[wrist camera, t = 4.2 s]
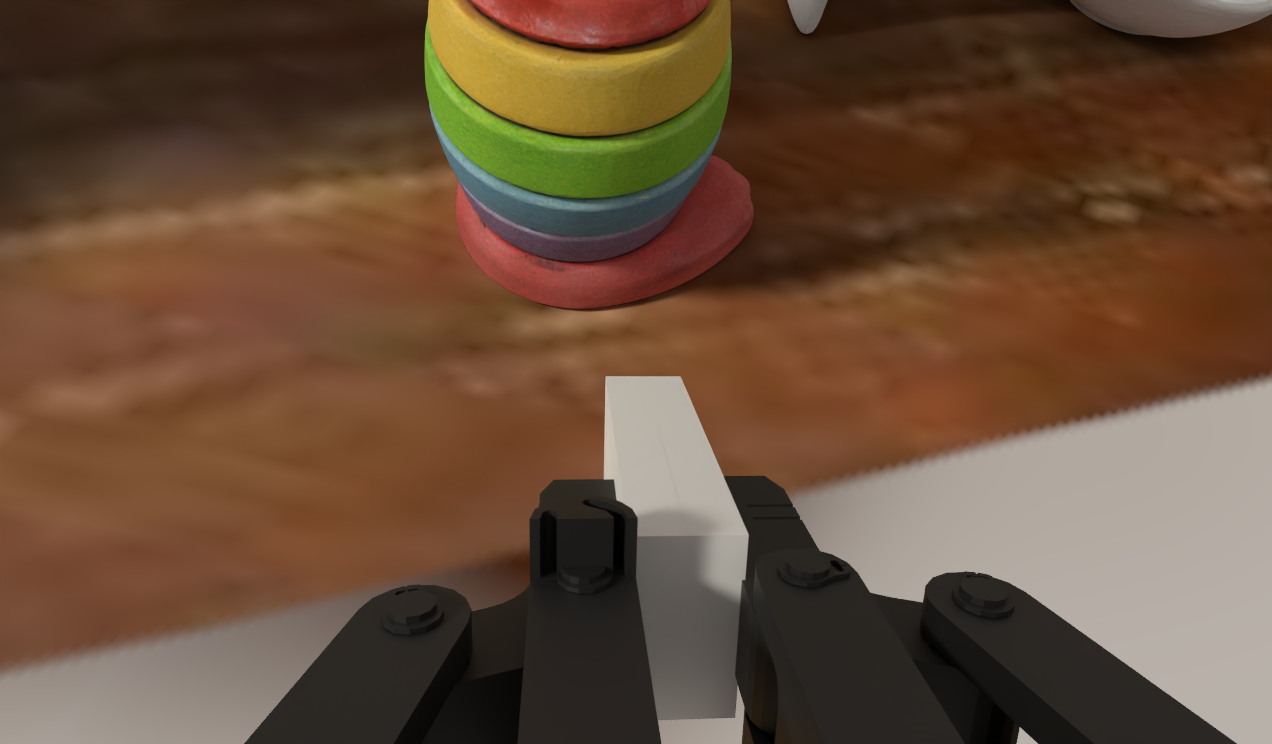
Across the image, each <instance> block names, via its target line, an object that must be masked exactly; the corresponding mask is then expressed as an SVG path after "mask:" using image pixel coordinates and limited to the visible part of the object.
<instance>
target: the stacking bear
mask: <svg viewBox="0 0 1272 744" xmlns="http://www.w3.org/2000/svg"><path fill="white" fill-rule="evenodd" d="M730 31H731V10H730V0H429V6H428V20H427V24H426V31H425V53H424V55H425V82H426V90H427V95H428V100H429V105H430V111H431V116H432V120H433V123H434V126H435V129H436V132H437V135H438V137H439V140H440V143H441V145H442V148H443V150H444V153H445V155H446V157H447V159H448V162H449V164H450V166H451V168H452V169H453V171H454V173H455V175H456V177H457V179H458V181H459V183H458V189H457V195H456V217H457V224H458V227H459V231H460V235H461V238H462V240H463V242H464V244H465V247H466V249H467V250H468V252H469V254H470V255H471V257H472V258H473V259H474V261H475V262H476V263H477V264H478V266H479V267H480V268H481V269H482V270H483V271H484V272H485V273H486V274H487V275H488V276H489V277H490V278H492V279H493V280H494V281H496V282H497V283H499V284H500V285H502V286H503V287H505V288H506V289H508V290H509V291H511V292H513V293H515V294H517V295H519V296H521V297H524V298H526V299H529V300H531V301H534V302H538V303H542V304H546V305H550V306H555V307H562V308H576V309H578V308H596V307H604V306H611V305H617V304H622V303H628V302H632V301H636V300H639V299H643V298H646V297H650V296H653V295H656V294H659V293H662V292H664V291H667V290H669V289H672V288H674V287H677V286H679V285H681V284H683V283H685V282H687V281H689V280H691V279H693V278H695V277H696V276H698V275H700V274H702V273H703V272H705V271H706V270H708V269H709V268H711V267H712V266H713V265H715V264H716V263H718V262H719V261H720V260H721V259H723V258H724V257H725V256H726V255H727V254H728V253H730V252H731V251H732V250H733V249H734V248H735V247H736V246H737V245H738V244H739V243H740V242H741V240H742V239H743V238H744V237H745V236H746V234H747V233H748V231H749V230H750V228H751V225H752V222H753V218H754V207H753V204H752V201H751V188H750V184H749V182H748V181H747V179H746V178H745V177H744V176H743V175H741V174H740V173H738V172H737V171H735V170H734V169H733V168H732V167H731V165H730V164H729V163H727V162H726V161H724V160H722V159H720V158H718V157H716V156H713V155H712V152H713V150H714V148H715V145H716V143H717V140H718V138H719V136H720V132H721V128H722V124H723V121H724V117H725V114H726V111H727V105H728V99H729V92H730V84H731V66H732V46H731V38H730Z"/></svg>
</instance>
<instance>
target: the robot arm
mask: <svg viewBox="0 0 1272 744" xmlns="http://www.w3.org/2000/svg"><path fill="white" fill-rule="evenodd" d="M737 685H738V687H739V690H740V693H741V697H742V700H743V703H744V707H745V710H744V724H743V735H742V744H1016V743H1017V738H1018V733H1019V728H1020V727H1021V728H1022V729H1023V730H1024V731H1025V732H1026V733H1027V734H1028V735H1029V736H1031V737H1032V738H1033V739H1034V740H1035V741H1036V742H1037V743H1038V744H1236V743H1235V742H1234V741H1232V740H1231V739H1229V738H1228V737H1227V736H1225V735H1224V734H1223V733H1221V732H1220V731H1218V730H1217V729H1216V728H1214V727H1213V726H1211V725H1210V724H1209V723H1207V722H1206V721H1204V720H1203V719H1202V718H1200V717H1199V716H1198V715H1196V714H1195V713H1193V712H1192V711H1191V710H1189V709H1188V708H1186V707H1185V706H1184V705H1182V704H1181V703H1179V702H1178V701H1177V700H1175V699H1174V698H1172V697H1171V696H1170V695H1168V694H1167V693H1165V692H1164V691H1162V690H1161V689H1160V688H1158V687H1157V686H1156V685H1154V684H1153V683H1151V682H1150V681H1149V680H1147V679H1146V678H1145V677H1143V676H1142V675H1140V674H1139V673H1138V672H1136V671H1135V670H1133V669H1132V668H1131V667H1129V666H1128V665H1126V664H1125V663H1124V662H1122V661H1121V660H1119V659H1118V658H1117V657H1115V656H1114V655H1112V654H1111V653H1110V652H1108V651H1107V650H1105V649H1104V648H1103V647H1101V646H1100V645H1098V644H1097V643H1096V642H1094V641H1093V640H1091V639H1090V638H1089V637H1087V636H1086V635H1084V634H1083V633H1082V632H1080V631H1079V630H1077V629H1076V628H1075V627H1073V626H1072V625H1071V624H1069V623H1068V622H1066V621H1065V620H1064V619H1062V618H1061V617H1059V616H1058V615H1056V614H1055V613H1054V612H1052V611H1051V610H1050V609H1048V608H1047V607H1045V606H1044V605H1042V604H1041V603H1040V602H1038V601H1037V600H1036V599H1034V598H1033V597H1031V596H1030V595H1028V594H1027V593H1026V592H1024V591H1022V590H1021V589H1019V588H1017V587H1015V586H1013V585H1012V584H1010V583H1008V582H1005V581H1002V580H999V579H996V578H993V577H992V576H990V575H987V574H982V573H978V574H976V573H975V572H957V573H945V574H942V575H939V576H936V577H933V578H932V579H931V580H930V581H929V583H928V584H927V585H926V587H925V594H924V600H923V603H922V602H916V601H910V600H904V599H897V598H891V597H886V596H882V595H877V594H873V593H870V592H869V590H868V589H867V587H866V586H865V584H864V582H863V581H862V579H861V578H860V576H859V574H858V573H857V572H856V571H855V570H854V569H853V568H852V567H851V566H850V565H849V564H848V563H847V562H845V561H843V560H841V559H840V558H838V557H836V556H834V555H832V554H828V553H824V552H821V551H819V549H818V547H817V546H816V544H815V542H814V541H813V539H812V537H811V535H810V534H809V532H808V530H807V528H806V527H805V525H804V523H803V522H802V520H800V516H799V514H798V513H797V511H796V509H795V508H794V507H793V504H792V502H791V501H790V499H789V497H788V495H787V494H786V492H785V490H784V489H783V488H781V487H780V486H778V485H777V484H775V483H774V482H772V481H771V480H769V479H768V478H766V477H765V476H723V474H722V472H721V470H720V467H719V465H718V463H717V460H716V458H715V456H714V453H713V451H712V449H711V446H710V444H709V442H708V439H707V437H706V435H705V432H704V430H703V428H702V425H701V423H700V421H699V418H698V416H697V414H696V412H695V409H694V407H693V405H692V402H691V400H690V398H689V395H688V393H687V391H686V388H685V386H684V384H683V381H682V379H681V377H680V376H606V385H605V444H604V479H598V480H553V481H552V482H551V483H550V484H549V485H548V486H547V487H546V488H545V489H544V490H543V491H542V492H541V493H540V504H539V507H538V508H537V509H535V510H534V512H533V514H532V516H531V518H530V585H529V586H528V587H527V589H526V590H525V591H523V592H522V593H521V594H519V595H518V596H517V597H515V598H513V599H511V600H509V601H507V602H505V603H502V604H500V605H496V606H493V607H489V608H485V609H481V610H476V611H472V612H471V608H470V606H469V603H468V601H467V599H466V598H465V597H463V596H462V595H461V594H459V593H457V592H456V591H454V590H452V589H448V588H444V587H440V586H436V585H410V586H407V587H400V588H396V589H393V590H390V591H388V592H386V593H383V594H381V595H379V596H376V597H374V598H372V599H371V600H370V601H369V602H367V603H366V604H365V605H364V606H362V607H361V608H360V609H359V610H358V611H357V612H356V613H355V614H354V616H353V617H352V618H351V619H350V621H349V622H348V623H347V624H346V625H345V626H344V627H343V629H342V630H341V631H340V632H339V633H338V634H337V636H336V637H335V638H334V639H333V640H332V641H331V643H330V644H329V645H328V646H327V647H326V648H325V650H324V651H323V652H322V653H321V654H320V656H319V657H318V658H317V659H316V660H315V661H314V663H313V664H312V665H311V666H310V667H309V668H308V670H307V671H306V672H305V673H304V674H303V675H302V677H301V678H300V679H299V680H298V681H297V682H296V684H295V685H294V686H293V688H291V689H290V691H289V692H288V693H287V694H286V695H285V697H284V698H283V699H282V700H281V701H280V702H279V704H278V705H277V706H276V707H275V708H274V709H273V711H272V712H271V713H270V714H269V715H268V716H267V718H266V719H265V720H264V721H263V722H262V723H261V725H260V726H259V727H258V728H257V729H256V730H255V732H254V733H253V734H252V735H251V736H250V738H249V739H248V740H247V741H246V742H245V743H244V744H661V739H660V732H659V726H658V720H675V719H704V718H735V710H736V697H737Z"/></svg>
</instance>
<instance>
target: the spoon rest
mask: <svg viewBox="0 0 1272 744" xmlns="http://www.w3.org/2000/svg"><path fill="white" fill-rule="evenodd" d="M787 1H788V4H789V7H790V10H791V13H792V16H793V19H794V21H795V23H796V25H797V27H798V29H799V30H800V31H801V32H802V33H804V34H809V33H811V32H813V31H814V29H815V28H816V27H817V25H818V23H819V21H820V19H821V16H822V14H823V11H824V8H825V6H826V4H827V1H828V0H787ZM1069 1H1070V2H1071V3H1072V4H1073V5H1074V6H1075V7H1076V8H1077V9H1078V10H1079V11H1081V12H1082V13H1084V14H1085V15H1086V16H1088V17H1089V18H1091V19H1093V20H1094V21H1096V22H1098V23H1100V24H1102V25H1104V26H1107V27H1109V28H1112V29H1115V30H1118V31H1122V32H1126V33H1130V34H1136V35H1152V36H1160V37H1171V38H1182V37H1198V36H1206V35H1212V34H1217V33H1221V32H1225V31H1229V30H1233V29H1236V28H1240V27H1242V26H1245V25H1248V24H1250V23H1253V22H1256V21H1258V20H1260V19H1262V18H1264V17H1266V16H1268V15H1270V14H1272V0H1069Z"/></svg>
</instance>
